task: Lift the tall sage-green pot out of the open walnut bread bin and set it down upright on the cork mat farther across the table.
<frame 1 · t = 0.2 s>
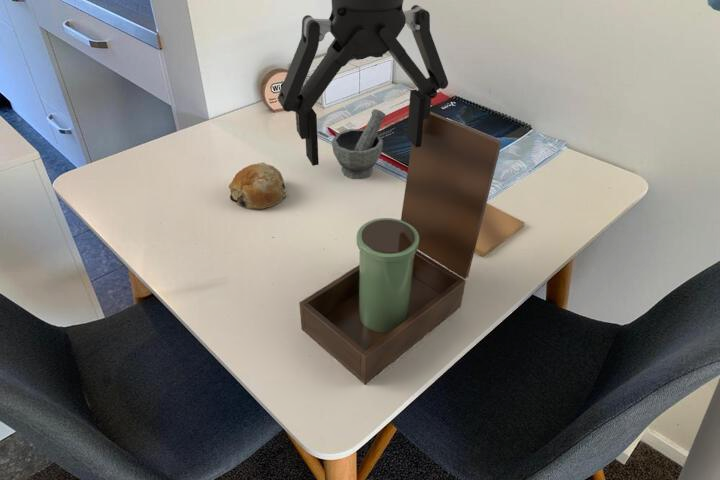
hand: (364, 151, 65), 23 cm above the table, tool pointing down, fingers open, 13 cm apart
bread bin: (383, 317, 74), on the table
cork mat: (475, 225, 91), on the table
green pot: (383, 314, 74), point 1 cm above the table, touching bread bin
bread roll: (258, 197, 98), on the table
bin lid: (453, 191, 71), point 16 cm above the table, hinge at 95.0°
mortar and pestle: (360, 170, 106), on the table
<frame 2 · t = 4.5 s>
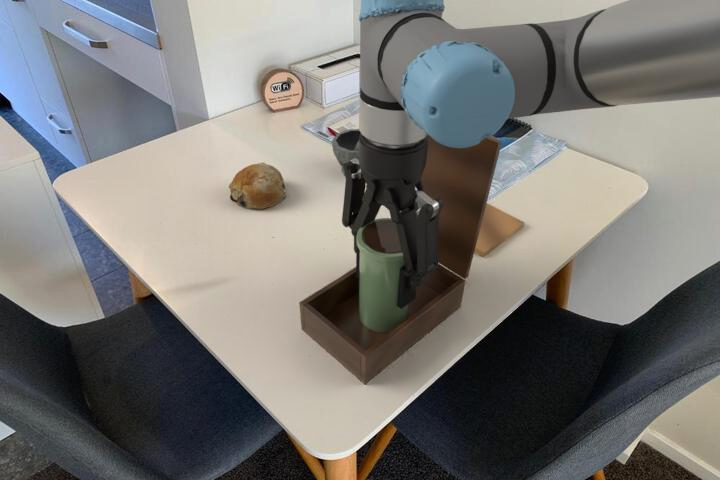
hand: (385, 287, 70), 6 cm above the table, tool pointing down, fingers closed on green pot, 7 cm apart
green pot: (383, 314, 74), point 1 cm above the table, touching bread bin, gripper
everything else where it was.
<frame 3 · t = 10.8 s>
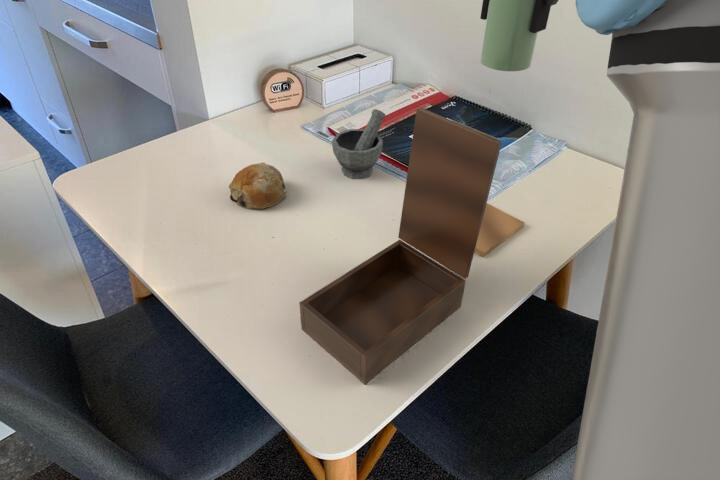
hand: (512, 23, 70), 34 cm above the table, tool pointing down, fingers closed on green pot, 7 cm apart
green pot: (505, 62, 73), point 29 cm above the table, touching gripper
everything else where it was.
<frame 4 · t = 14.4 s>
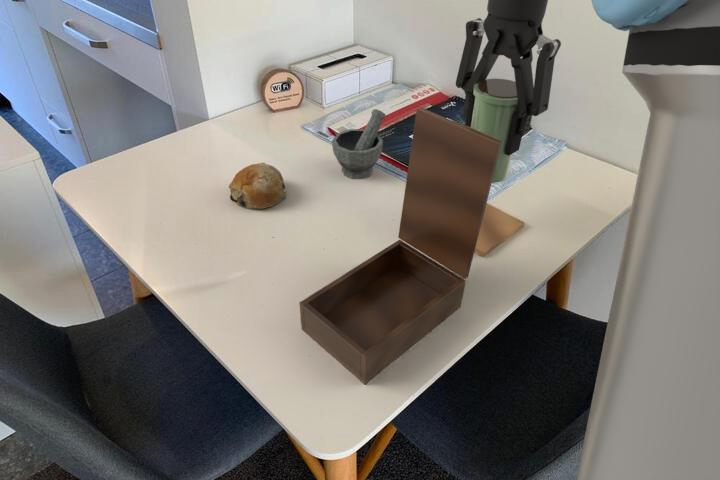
hand: (490, 142, 81), 16 cm above the table, tool pointing down, fingers closed on green pot, 7 cm apart
green pot: (485, 171, 85), point 11 cm above the table, touching gripper
everything else where it was.
when the fingers open (6 cm above the table, at t = 17.0 s): green pot stays where it is, resting on cork mat.
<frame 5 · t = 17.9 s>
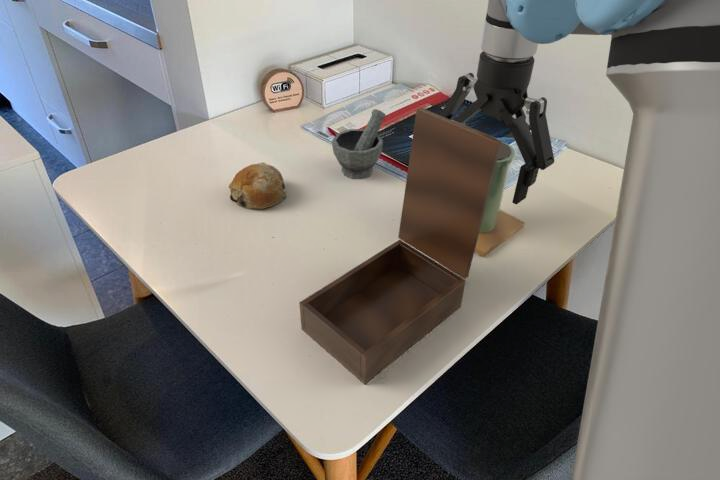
hand: (483, 183, 86), 9 cm above the table, tool pointing down, fingers open, 13 cm apart
green pot: (476, 221, 91), point 1 cm above the table, touching cork mat
everything else where it was.
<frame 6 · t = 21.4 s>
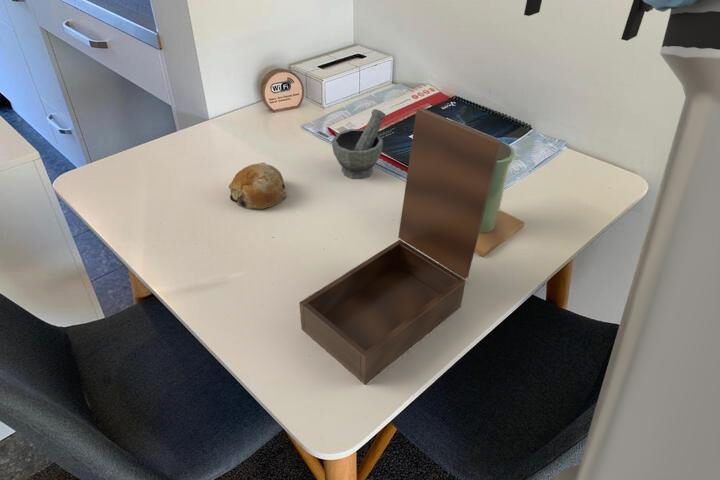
hand: (577, 25, 68), 35 cm above the table, tool pointing down, fingers open, 13 cm apart
nothing on the table moved.
at the end: green pot inside the target area on the cork mat (0.0 cm from its centre), point 1.0 cm above the cork mat's base; green pot tilted 0°; green pot touching cork mat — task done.
